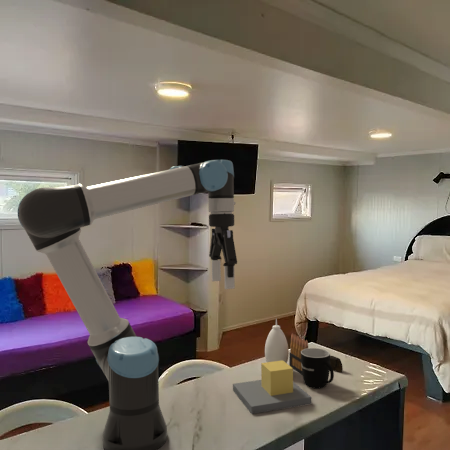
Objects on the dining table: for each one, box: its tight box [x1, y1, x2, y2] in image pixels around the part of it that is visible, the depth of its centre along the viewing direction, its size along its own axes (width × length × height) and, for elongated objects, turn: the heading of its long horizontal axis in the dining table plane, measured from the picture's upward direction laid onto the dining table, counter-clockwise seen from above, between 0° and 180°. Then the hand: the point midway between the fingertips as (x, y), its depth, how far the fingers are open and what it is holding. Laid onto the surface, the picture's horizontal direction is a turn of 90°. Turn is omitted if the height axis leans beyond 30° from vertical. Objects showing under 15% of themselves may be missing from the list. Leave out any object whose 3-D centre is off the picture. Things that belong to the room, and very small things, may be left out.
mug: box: [301, 347, 335, 390], centre depth 133 cm, size 12×9×10 cm
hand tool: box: [330, 355, 344, 373], centre depth 151 cm, size 19×4×5 cm, turn 34°
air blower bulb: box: [264, 317, 290, 364], centre depth 146 cm, size 8×8×18 cm
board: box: [232, 379, 312, 415], centre depth 126 cm, size 18×16×6 cm
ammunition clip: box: [288, 332, 309, 376], centre depth 146 cm, size 11×2×12 cm, turn 22°
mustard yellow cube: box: [260, 360, 294, 396], centre depth 127 cm, size 7×7×7 cm
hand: (222, 284), depth 128 cm, fingers open, 13 cm apart
